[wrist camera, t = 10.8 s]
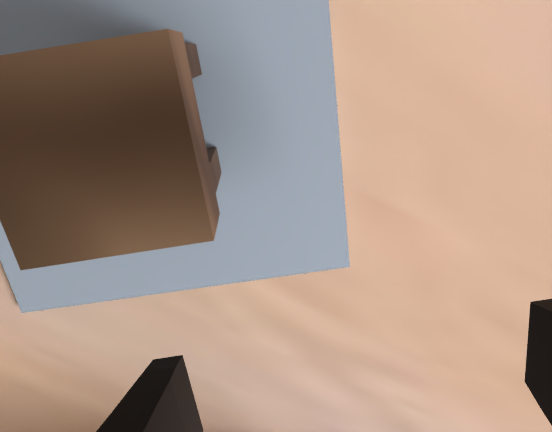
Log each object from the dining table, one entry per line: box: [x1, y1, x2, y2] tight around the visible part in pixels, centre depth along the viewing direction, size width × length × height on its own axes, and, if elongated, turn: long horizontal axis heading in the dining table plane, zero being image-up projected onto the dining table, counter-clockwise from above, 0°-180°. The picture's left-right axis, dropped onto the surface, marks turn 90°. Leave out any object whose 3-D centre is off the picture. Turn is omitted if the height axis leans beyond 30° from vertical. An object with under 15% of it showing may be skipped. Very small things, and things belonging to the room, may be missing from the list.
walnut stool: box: [0, 29, 222, 270], centre depth 13 cm, size 5×5×6 cm
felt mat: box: [0, 0, 350, 313], centre depth 16 cm, size 14×14×1 cm
